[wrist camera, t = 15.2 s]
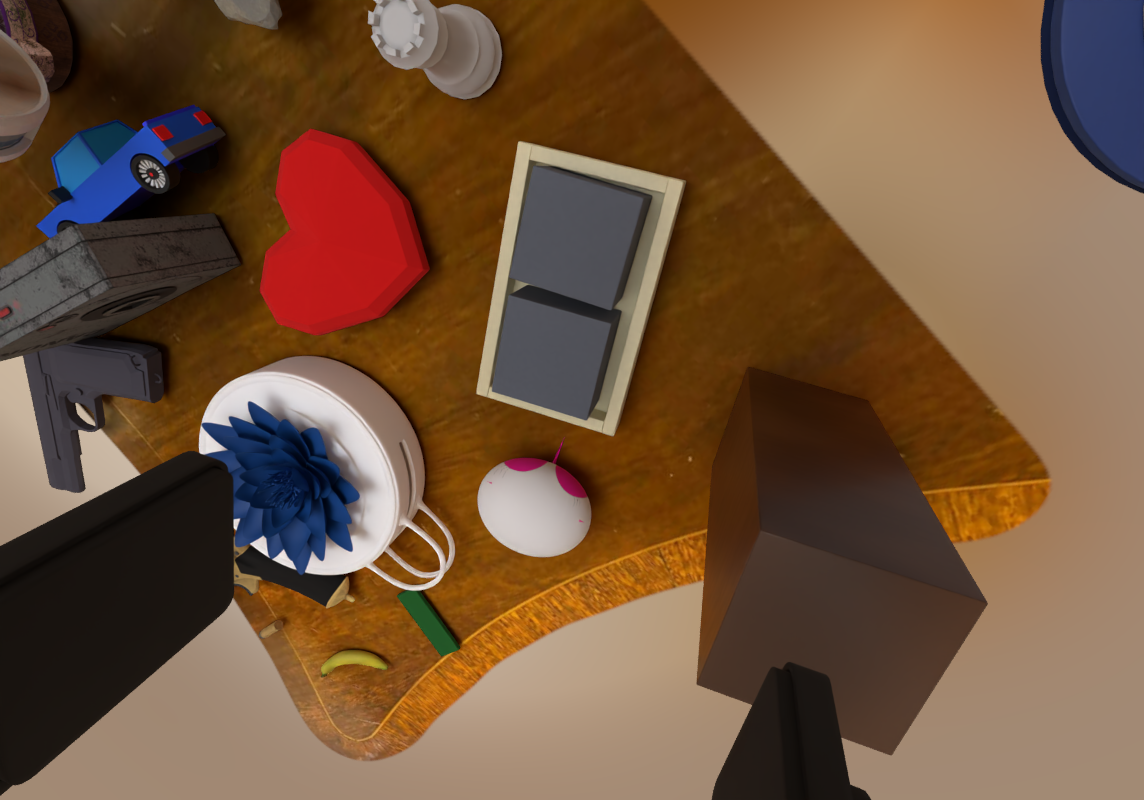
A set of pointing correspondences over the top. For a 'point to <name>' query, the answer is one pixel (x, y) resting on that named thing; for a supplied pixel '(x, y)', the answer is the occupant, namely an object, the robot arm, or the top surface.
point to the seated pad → (554, 351)
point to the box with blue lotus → (319, 467)
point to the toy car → (127, 167)
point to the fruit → (352, 660)
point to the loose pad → (578, 236)
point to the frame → (636, 290)
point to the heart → (339, 238)
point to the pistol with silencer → (286, 580)
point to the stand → (827, 561)
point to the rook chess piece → (439, 43)
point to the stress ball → (534, 507)
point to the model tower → (19, 99)
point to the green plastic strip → (429, 622)
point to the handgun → (85, 395)
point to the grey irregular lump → (252, 11)
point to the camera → (105, 278)
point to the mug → (40, 36)
